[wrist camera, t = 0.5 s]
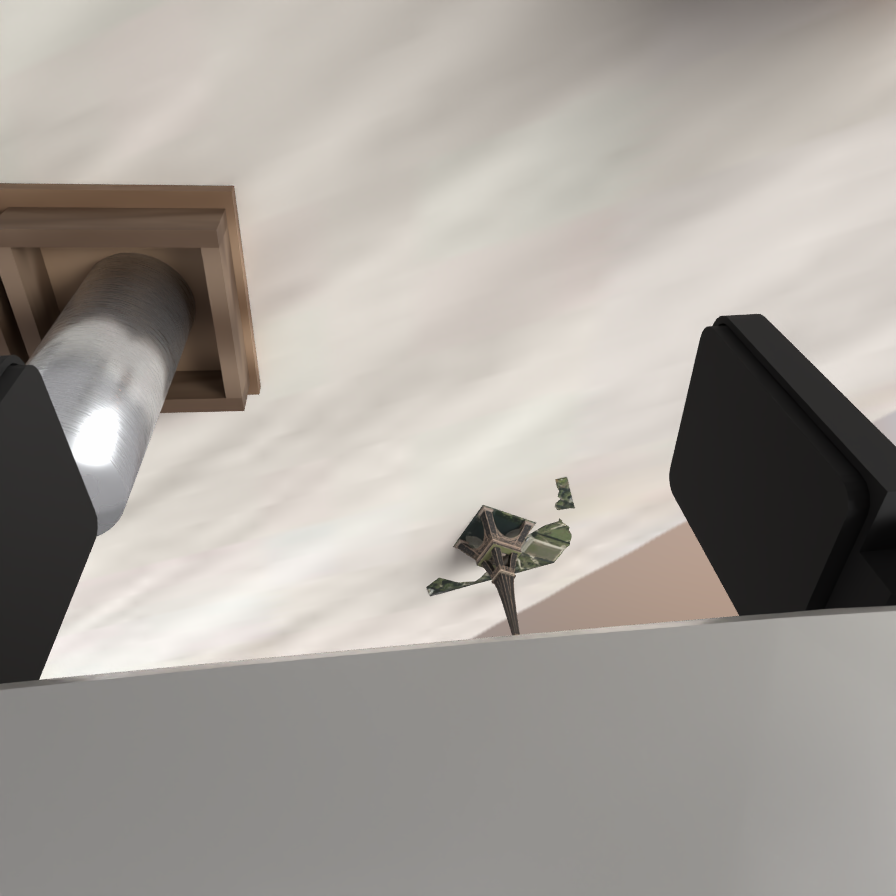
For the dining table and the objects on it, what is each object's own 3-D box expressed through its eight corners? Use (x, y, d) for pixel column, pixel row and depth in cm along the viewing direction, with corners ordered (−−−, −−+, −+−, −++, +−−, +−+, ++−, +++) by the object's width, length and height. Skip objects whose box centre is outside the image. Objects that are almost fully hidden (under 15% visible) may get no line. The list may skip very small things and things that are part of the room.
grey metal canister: (71, 252, 43) (-67, 428, 29) (185, 252, 44) (106, 423, 30) (98, 349, 47) (-11, 546, 33) (203, 348, 48) (140, 540, 34)
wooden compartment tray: (-250, 180, 40) (-309, 208, 36) (233, 185, 43) (223, 212, 39) (-138, 394, 48) (-176, 433, 45) (260, 386, 51) (253, 423, 48)
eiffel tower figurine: (427, 593, 67) (441, 723, 56) (392, 518, 61) (400, 648, 50) (584, 550, 66) (628, 675, 55) (564, 468, 60) (610, 592, 49)
